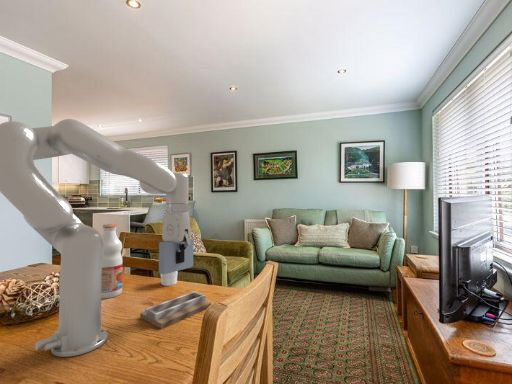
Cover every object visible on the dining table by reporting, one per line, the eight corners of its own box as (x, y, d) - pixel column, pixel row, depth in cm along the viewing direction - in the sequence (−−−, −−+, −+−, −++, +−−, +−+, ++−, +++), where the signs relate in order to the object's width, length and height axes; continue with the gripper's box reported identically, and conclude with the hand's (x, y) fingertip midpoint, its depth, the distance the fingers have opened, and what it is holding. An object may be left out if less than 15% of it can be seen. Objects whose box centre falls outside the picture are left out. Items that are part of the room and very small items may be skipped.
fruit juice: (94, 293, 109) (95, 224, 109) (120, 288, 114) (120, 223, 115) (96, 301, 101) (97, 226, 101) (124, 295, 107) (124, 225, 107)
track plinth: (161, 328, 80) (161, 317, 80) (140, 317, 88) (140, 306, 88) (211, 306, 96) (211, 297, 96) (189, 298, 104) (189, 289, 104)
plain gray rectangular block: (164, 274, 87) (164, 243, 87) (158, 272, 89) (159, 242, 89) (193, 266, 96) (193, 238, 97) (187, 265, 98) (188, 237, 98)
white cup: (166, 287, 116) (166, 264, 116) (156, 283, 121) (156, 261, 121) (181, 282, 122) (181, 260, 123) (171, 279, 127) (171, 258, 127)
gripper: (153, 208, 95) (153, 260, 94) (183, 210, 85) (183, 268, 85) (171, 207, 101) (171, 256, 100) (201, 209, 91) (201, 263, 91)
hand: (176, 261), depth 92 cm, fingers closed on plain gray rectangular block, 3 cm apart
